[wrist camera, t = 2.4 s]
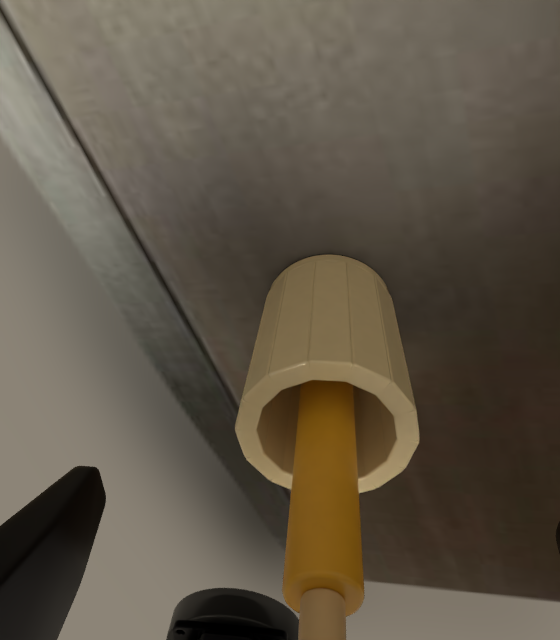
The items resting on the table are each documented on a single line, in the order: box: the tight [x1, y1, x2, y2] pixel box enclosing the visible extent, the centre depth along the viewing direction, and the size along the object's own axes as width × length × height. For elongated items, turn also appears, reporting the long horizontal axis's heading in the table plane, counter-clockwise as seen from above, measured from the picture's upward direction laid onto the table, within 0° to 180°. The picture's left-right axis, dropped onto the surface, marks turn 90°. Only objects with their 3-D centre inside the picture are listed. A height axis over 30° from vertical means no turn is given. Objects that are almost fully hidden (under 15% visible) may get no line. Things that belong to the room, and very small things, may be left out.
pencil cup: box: [235, 255, 420, 493], centre depth 13 cm, size 4×4×6 cm
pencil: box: [282, 380, 364, 640], centre depth 11 cm, size 1×1×10 cm
